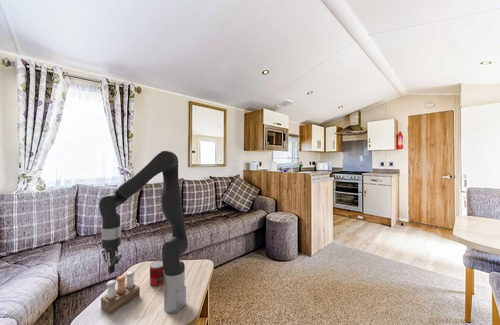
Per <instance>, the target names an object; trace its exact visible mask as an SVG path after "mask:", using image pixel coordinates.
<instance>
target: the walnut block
mask: <svg viewBox="0 0 500 325" xmlns="http://www.w3.org/2000/svg"><path fill="white" fill-rule="evenodd" d="M140 293H141V290H140V286H139V285H137V284H135V283H134V287H133V288H132V289H130V290H128V289H127V283H125V293H123V294H121V295H118V288H117V289H115V298H114V299H112V300H111V301H108V293H106V295H104V296H102V297H101V298H100V309H101V308H102V310H103V311H104V310H105V311H104V312H106V313H108V315H110V314H111V315H112V314H114V313H115V312H117V311H119V310H120V309H122V308H124V307H125V306H126V305H128V304H130V303H131V302H133V301H135V300H136V299H138V298H140V296H141V295H140Z"/></svg>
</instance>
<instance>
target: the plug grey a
mask: <svg viewBox="0 0 500 325" xmlns="http://www.w3.org/2000/svg"><path fill="white" fill-rule="evenodd" d="M116 284H117V279H111V280H109V281H107V282H106V287H107V294H108V301H111V300H112V299H114V298H115V290H116Z"/></svg>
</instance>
